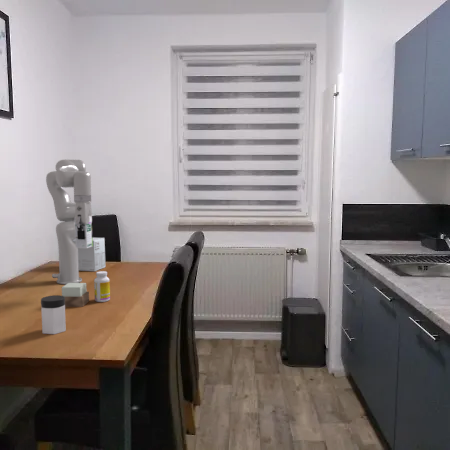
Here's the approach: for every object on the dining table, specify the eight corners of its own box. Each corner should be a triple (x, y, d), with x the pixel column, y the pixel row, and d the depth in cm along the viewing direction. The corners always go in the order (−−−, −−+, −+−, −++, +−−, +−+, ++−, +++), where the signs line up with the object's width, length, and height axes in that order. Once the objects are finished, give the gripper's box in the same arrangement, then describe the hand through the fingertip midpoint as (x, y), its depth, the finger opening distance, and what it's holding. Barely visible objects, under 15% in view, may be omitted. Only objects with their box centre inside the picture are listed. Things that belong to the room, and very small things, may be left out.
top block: (62, 296, 196) (61, 287, 196) (68, 291, 204) (68, 282, 204) (80, 296, 196) (80, 287, 196) (86, 291, 204) (86, 282, 203)
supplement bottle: (113, 299, 208) (112, 271, 206) (104, 303, 201) (103, 274, 200) (100, 297, 210) (99, 270, 208) (91, 301, 203) (90, 273, 202)
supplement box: (106, 267, 278) (105, 237, 275) (95, 271, 265) (94, 240, 263) (80, 265, 281) (79, 236, 279) (68, 270, 269) (67, 239, 267)
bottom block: (61, 307, 196) (61, 296, 195) (69, 301, 205) (68, 291, 204) (82, 307, 196) (82, 297, 195) (89, 301, 205) (88, 291, 204)
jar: (59, 324, 172) (58, 293, 171) (71, 329, 167) (70, 297, 166) (36, 331, 166) (35, 298, 164) (48, 336, 160) (47, 302, 159)
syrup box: (87, 248, 208) (86, 217, 207) (75, 248, 210) (74, 216, 208) (93, 246, 214) (92, 215, 212) (81, 246, 215) (80, 215, 213)
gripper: (84, 200, 200) (85, 241, 203) (96, 198, 218) (97, 235, 220) (67, 200, 201) (69, 241, 203) (80, 197, 218) (81, 235, 220)
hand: (83, 237), depth 211 cm, fingers closed on syrup box, 6 cm apart
